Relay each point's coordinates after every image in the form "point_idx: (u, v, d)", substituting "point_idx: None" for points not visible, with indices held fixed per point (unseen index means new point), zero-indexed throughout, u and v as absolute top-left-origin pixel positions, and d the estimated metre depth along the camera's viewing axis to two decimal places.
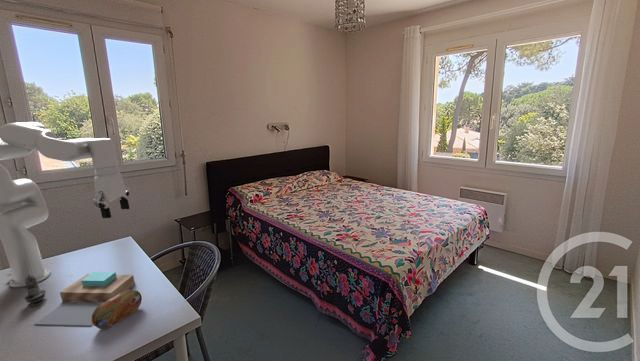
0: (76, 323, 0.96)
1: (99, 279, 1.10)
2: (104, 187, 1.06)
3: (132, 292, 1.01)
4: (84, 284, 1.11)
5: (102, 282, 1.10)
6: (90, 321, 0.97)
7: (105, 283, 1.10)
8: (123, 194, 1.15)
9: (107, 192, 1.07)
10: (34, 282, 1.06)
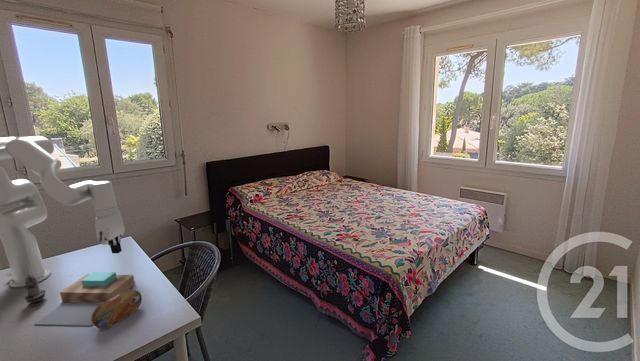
0: (76, 323, 0.96)
1: (99, 279, 1.10)
2: (104, 227, 1.13)
3: (132, 292, 1.01)
4: (84, 284, 1.11)
5: (102, 282, 1.10)
6: (90, 321, 0.97)
7: (105, 283, 1.10)
8: (122, 231, 1.22)
9: (107, 232, 1.14)
10: (34, 282, 1.06)
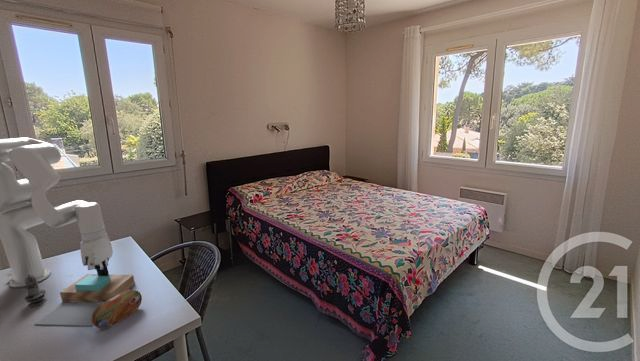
0: (76, 323, 0.96)
1: (93, 284, 1.08)
2: (90, 252, 1.07)
3: (132, 292, 1.01)
4: (77, 288, 1.08)
5: (95, 286, 1.07)
6: (90, 321, 0.97)
7: (98, 287, 1.08)
8: (110, 254, 1.16)
9: (93, 257, 1.08)
10: (34, 282, 1.06)
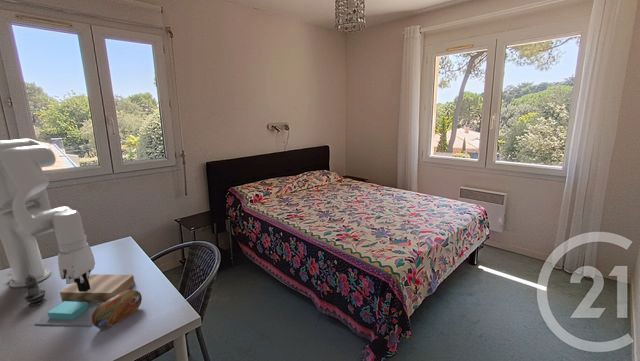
0: (76, 323, 0.96)
1: None
2: (69, 265, 0.99)
3: (132, 292, 1.01)
4: None
5: None
6: (90, 321, 0.97)
7: (86, 305, 1.03)
8: (91, 266, 1.07)
9: (72, 270, 0.99)
10: (34, 282, 1.06)
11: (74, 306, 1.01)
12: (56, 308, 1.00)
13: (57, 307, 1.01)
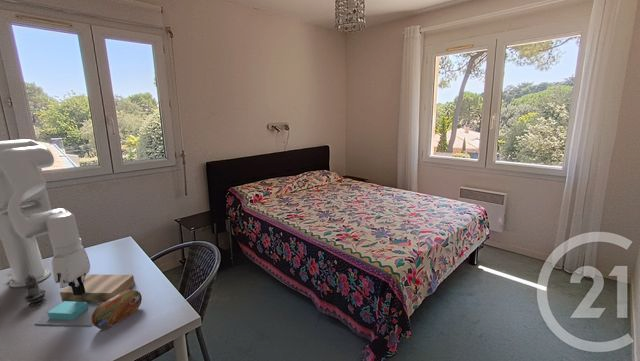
0: (76, 323, 0.96)
1: None
2: (63, 268, 0.97)
3: (132, 292, 1.01)
4: None
5: None
6: (90, 321, 0.97)
7: (86, 305, 1.03)
8: (87, 269, 1.05)
9: (66, 273, 0.97)
10: (34, 282, 1.06)
11: (74, 306, 1.01)
12: (56, 308, 1.00)
13: (57, 307, 1.01)
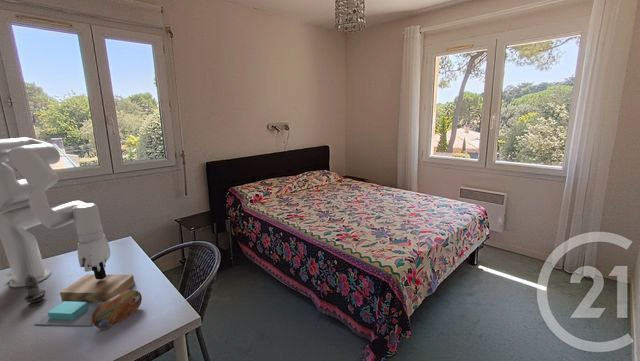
0: (76, 323, 0.96)
1: None
2: (87, 254, 1.06)
3: (132, 292, 1.01)
4: None
5: None
6: (90, 321, 0.97)
7: (86, 305, 1.03)
8: (107, 256, 1.15)
9: (90, 258, 1.07)
10: (34, 282, 1.06)
11: (74, 306, 1.01)
12: (56, 308, 1.00)
13: (57, 307, 1.01)
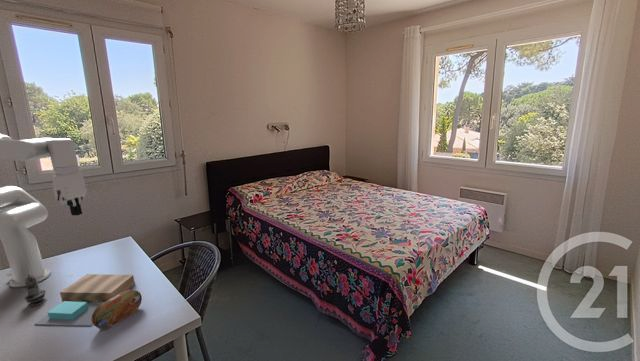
0: (76, 323, 0.96)
1: None
2: (62, 186, 1.09)
3: (132, 292, 1.01)
4: None
5: None
6: (90, 321, 0.97)
7: (86, 305, 1.03)
8: (83, 193, 1.17)
9: (65, 191, 1.10)
10: (34, 282, 1.06)
11: (74, 306, 1.01)
12: (56, 308, 1.00)
13: (57, 307, 1.01)
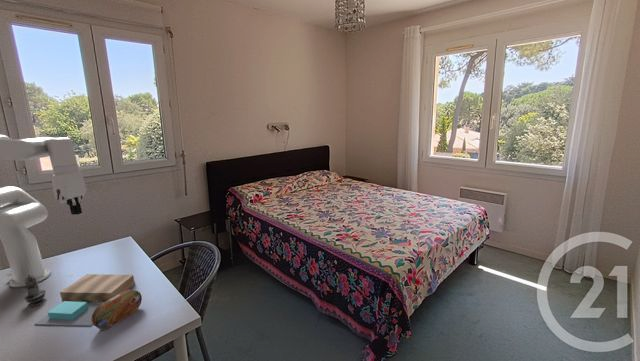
0: (76, 323, 0.96)
1: None
2: (62, 185, 1.09)
3: (132, 292, 1.01)
4: None
5: None
6: (90, 321, 0.97)
7: (86, 305, 1.03)
8: (83, 192, 1.18)
9: (65, 190, 1.10)
10: (34, 282, 1.06)
11: (74, 306, 1.01)
12: (56, 308, 1.00)
13: (57, 307, 1.01)
